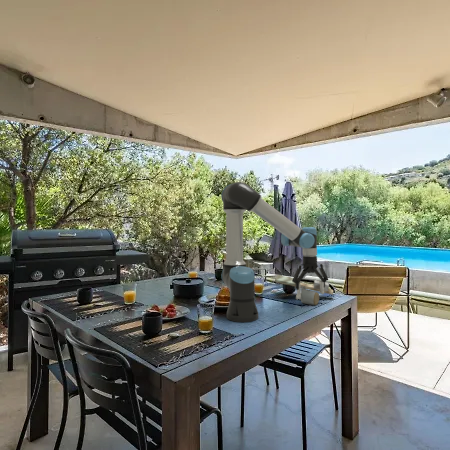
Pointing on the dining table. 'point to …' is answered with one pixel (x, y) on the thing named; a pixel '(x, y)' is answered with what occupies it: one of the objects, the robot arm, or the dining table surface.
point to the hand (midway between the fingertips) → (310, 294)
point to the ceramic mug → (309, 297)
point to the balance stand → (301, 292)
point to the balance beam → (316, 284)
